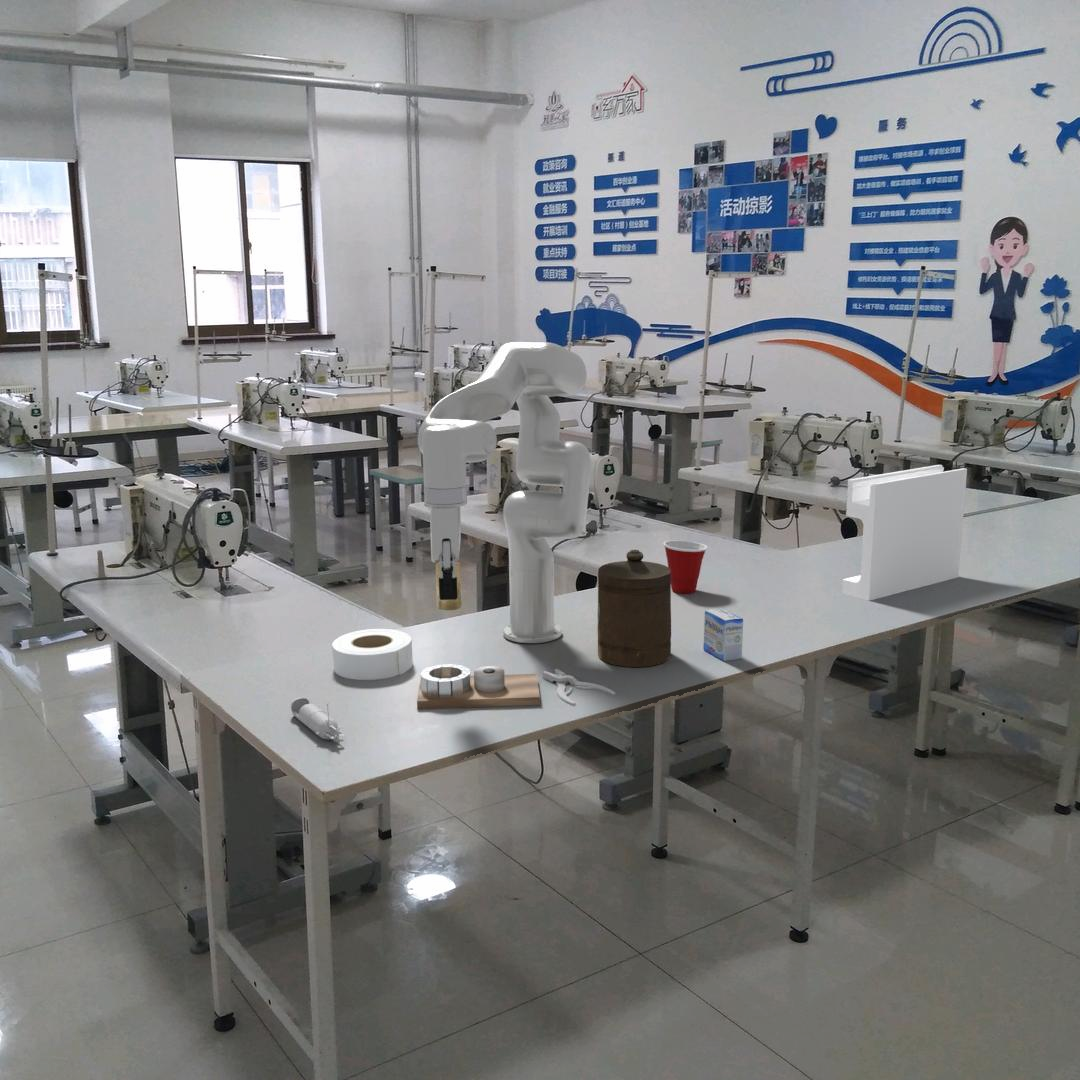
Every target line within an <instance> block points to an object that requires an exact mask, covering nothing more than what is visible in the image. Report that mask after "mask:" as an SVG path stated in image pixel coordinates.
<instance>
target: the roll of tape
mask: <svg viewBox="0 0 1080 1080" xmlns="http://www.w3.org/2000/svg"><path fill="white" fill-rule="evenodd" d="M412 641H413V640H412V637H411V635H409V634H408V633H407V632H404V631H401V630H397V629H391V628H369V629H367V628H366V629H361V630H356V631H351V632H348V633H346V634H342V635H340V636H338V637H337V638H336V639H334V640H333V642H332V644H331V650H332V662H333V663H332V664H333V671H334V673H335V674H336V675H338V676H340V677H342V678H345V679H349V680H356V681H357V680H358V681H376V680H384V679H388V678H393V677H397V676H401V675H403V674H406V673H407V672H408V671H409V670H410V669H412V667H413V664H414V661H413V660H414V659H413V643H412Z"/></svg>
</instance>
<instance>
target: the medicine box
mask: <svg viewBox="0 0 1080 1080" xmlns="http://www.w3.org/2000/svg"><path fill="white" fill-rule="evenodd" d="M703 623H704V625H703V645H702V648H703V649H702V650H703V651H704V652H705V653H708V654H710V655H712V656H714V657H715V658H717V659H719V660H721V661H723V662H728V661H729V662H730V661H736V660H740V659H742V658H743V639H744V638H743V633H744V619H743V618H742V617H740V616H738V615H736V614H734V613H732V612H730V611H728V610H726V609H724V608H711V609H708V610H707V609H706V610H704V622H703Z"/></svg>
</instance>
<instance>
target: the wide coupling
mask: <svg viewBox="0 0 1080 1080" xmlns="http://www.w3.org/2000/svg"><path fill="white" fill-rule="evenodd" d="M470 676H471V669H470V668H468V667H466V666H464V665H460V664H455V663H442V664H437V665H433V666H428V667H426V668H424V669H422V670H421V672H420V679H421V691H422V692H423V693H425V694H426V695H429V696H434V697H451V696H452V697H454V696H458V695H462V694H465V693H466V692H468V691H469V690H470V689H471V681H470Z"/></svg>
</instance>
